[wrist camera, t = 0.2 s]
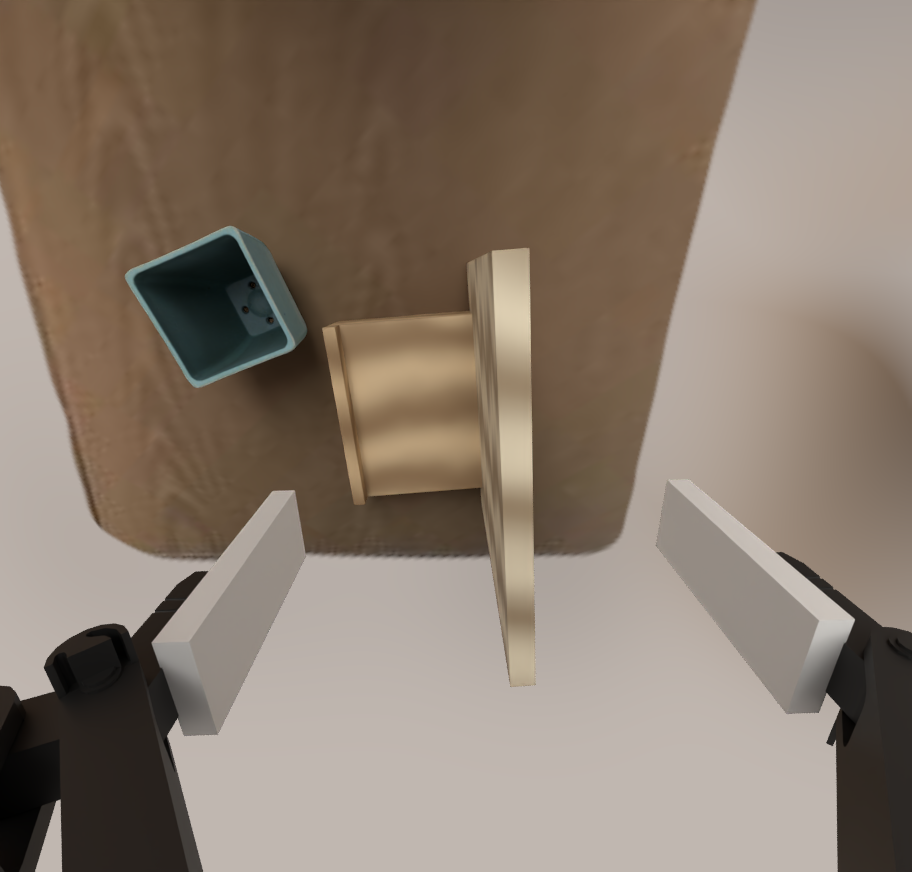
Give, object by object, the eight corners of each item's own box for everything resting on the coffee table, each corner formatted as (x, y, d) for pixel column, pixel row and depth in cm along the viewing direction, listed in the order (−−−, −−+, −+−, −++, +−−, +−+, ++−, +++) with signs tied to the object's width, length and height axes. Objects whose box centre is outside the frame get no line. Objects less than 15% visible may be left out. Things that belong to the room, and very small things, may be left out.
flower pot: (244, 366, 41) (192, 391, 32) (192, 273, 38) (119, 273, 29) (329, 332, 40) (297, 348, 31) (282, 234, 37) (233, 222, 28)
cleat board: (330, 274, 38) (194, 275, 17) (483, 262, 38) (529, 247, 17) (370, 512, 46) (310, 702, 26) (495, 502, 46) (535, 684, 26)
